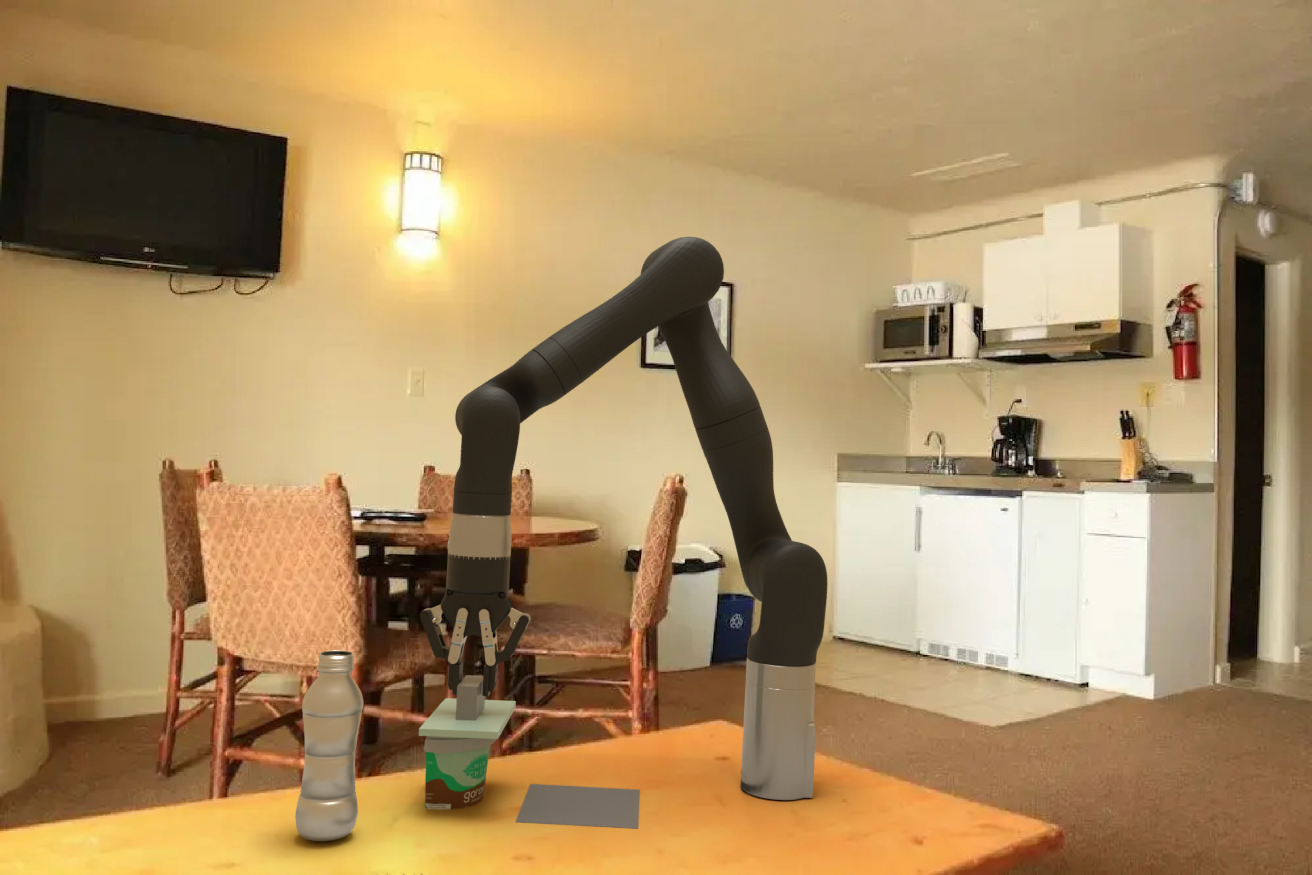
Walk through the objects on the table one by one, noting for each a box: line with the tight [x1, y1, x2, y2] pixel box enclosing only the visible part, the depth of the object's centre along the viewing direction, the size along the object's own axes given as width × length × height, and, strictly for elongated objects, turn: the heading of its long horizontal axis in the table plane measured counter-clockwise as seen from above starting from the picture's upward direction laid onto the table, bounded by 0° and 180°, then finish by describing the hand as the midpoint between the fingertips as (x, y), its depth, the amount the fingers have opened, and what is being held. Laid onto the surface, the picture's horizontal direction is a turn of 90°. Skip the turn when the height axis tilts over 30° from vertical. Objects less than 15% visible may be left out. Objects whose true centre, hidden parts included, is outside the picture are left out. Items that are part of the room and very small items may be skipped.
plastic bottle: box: [294, 649, 364, 842], centre depth 112 cm, size 6×7×20 cm
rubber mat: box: [515, 783, 641, 830], centre depth 123 cm, size 14×14×1 cm
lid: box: [418, 674, 517, 740], centre depth 124 cm, size 9×15×5 cm, turn 0°
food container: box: [423, 736, 497, 811], centre depth 124 cm, size 12×6×10 cm, turn 168°
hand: (471, 693), depth 124 cm, fingers open, 3 cm apart
